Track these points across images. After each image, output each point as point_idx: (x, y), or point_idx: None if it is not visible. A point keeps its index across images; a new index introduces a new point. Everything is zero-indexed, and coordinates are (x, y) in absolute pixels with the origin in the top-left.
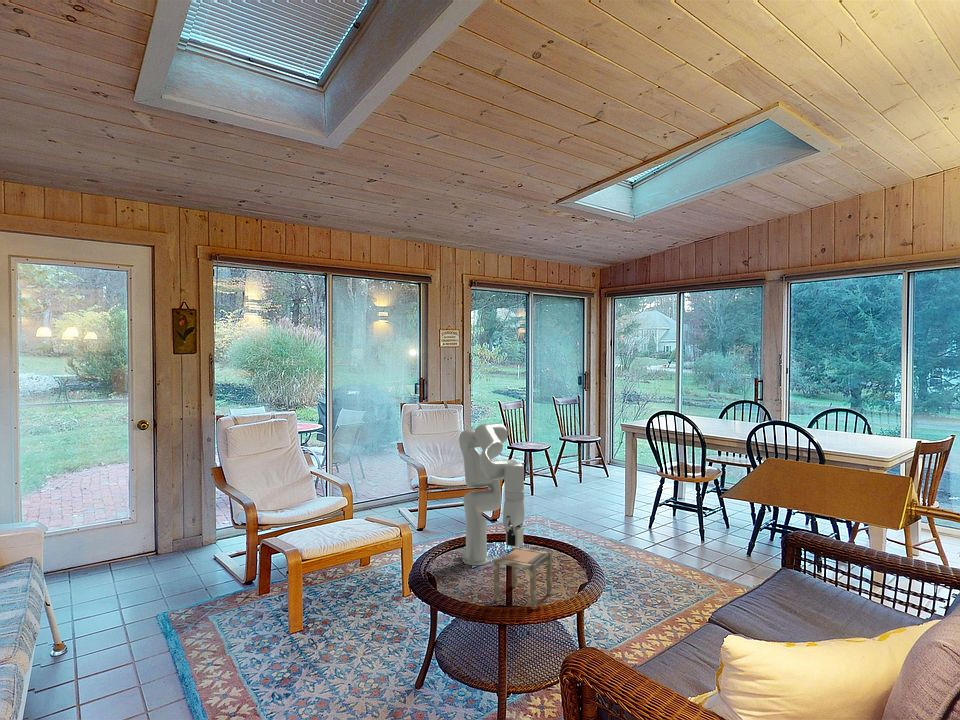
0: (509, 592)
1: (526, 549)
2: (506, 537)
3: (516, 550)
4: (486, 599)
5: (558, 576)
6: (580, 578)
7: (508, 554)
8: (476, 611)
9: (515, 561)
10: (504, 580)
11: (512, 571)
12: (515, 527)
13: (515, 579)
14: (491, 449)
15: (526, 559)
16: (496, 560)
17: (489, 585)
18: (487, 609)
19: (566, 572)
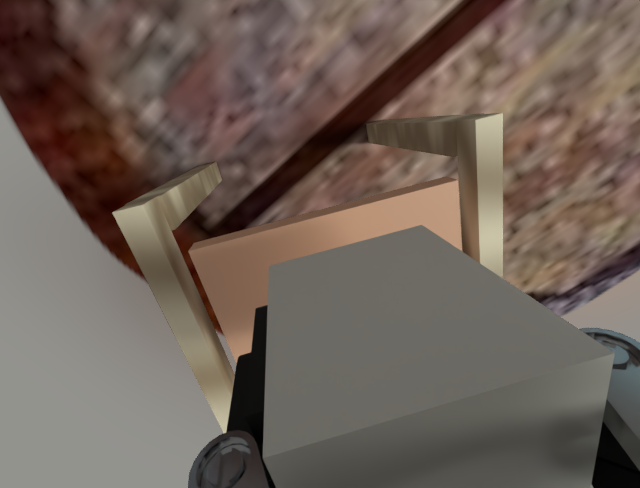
0: (316, 152)
1: (491, 251)
2: (271, 330)
3: (427, 209)
4: (186, 125)
5: (564, 195)
6: (577, 262)
7: (301, 229)
8: (67, 180)
9: (233, 351)
10: (413, 32)
11: (391, 128)
12: (547, 467)
13: (381, 144)
14: None
15: None
16: (129, 236)
17: (315, 11)
18: (122, 200)
19: (614, 193)
